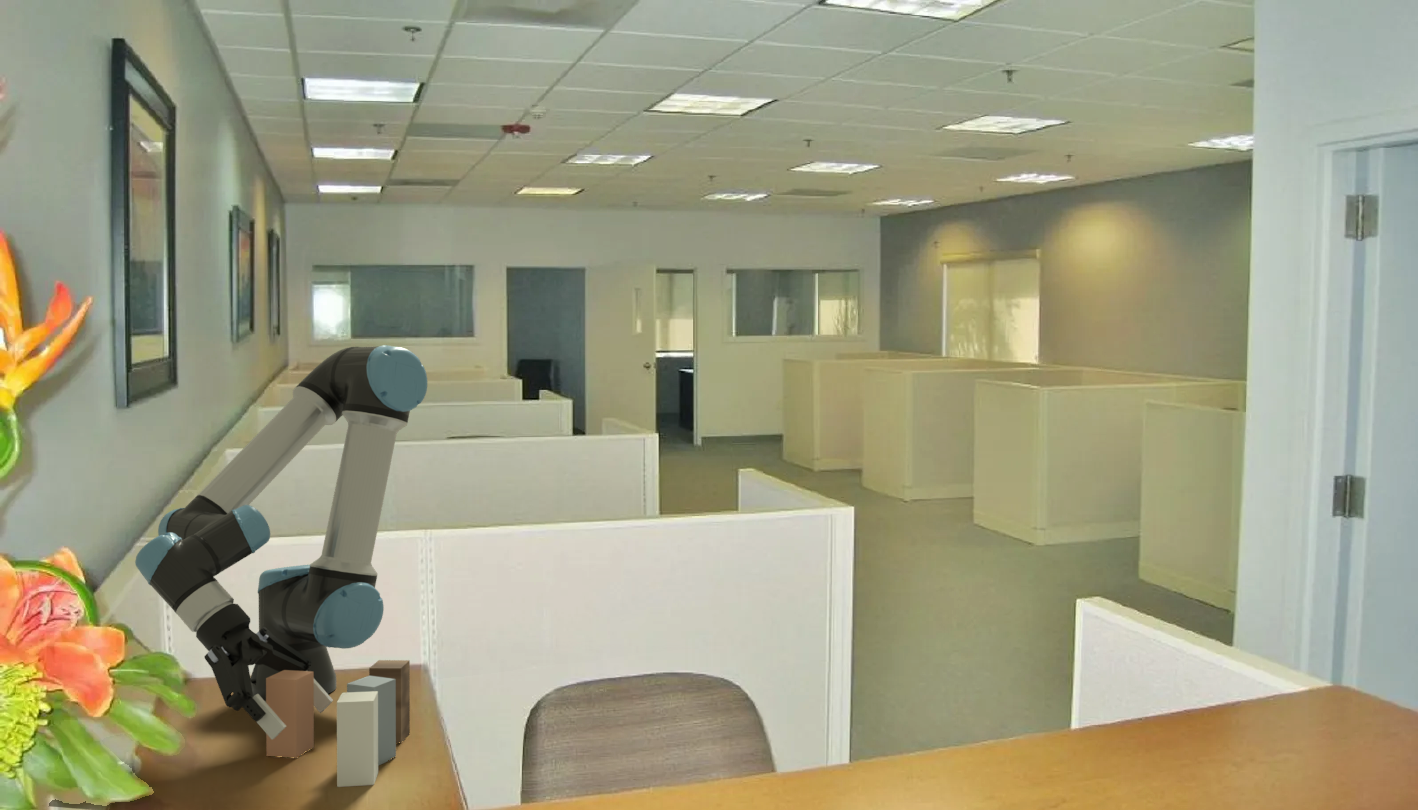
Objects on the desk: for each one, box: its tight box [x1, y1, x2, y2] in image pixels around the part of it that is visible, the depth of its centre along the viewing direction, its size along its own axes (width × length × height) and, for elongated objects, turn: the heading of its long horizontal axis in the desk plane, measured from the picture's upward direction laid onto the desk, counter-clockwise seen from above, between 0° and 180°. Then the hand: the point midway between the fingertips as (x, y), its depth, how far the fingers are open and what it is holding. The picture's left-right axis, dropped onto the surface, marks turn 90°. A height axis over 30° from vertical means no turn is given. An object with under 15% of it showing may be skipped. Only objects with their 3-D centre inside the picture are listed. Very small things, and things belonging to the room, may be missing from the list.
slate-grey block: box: [346, 675, 397, 767], centre depth 169 cm, size 5×5×12 cm
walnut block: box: [368, 659, 411, 744], centre depth 179 cm, size 5×5×12 cm
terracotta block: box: [265, 670, 315, 759], centre depth 173 cm, size 5×5×12 cm
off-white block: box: [336, 691, 379, 788], centre depth 161 cm, size 5×5×12 cm
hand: (304, 719), depth 172 cm, fingers open, 13 cm apart
